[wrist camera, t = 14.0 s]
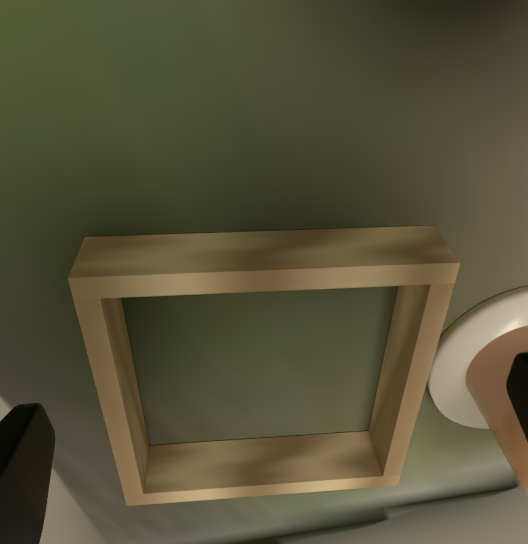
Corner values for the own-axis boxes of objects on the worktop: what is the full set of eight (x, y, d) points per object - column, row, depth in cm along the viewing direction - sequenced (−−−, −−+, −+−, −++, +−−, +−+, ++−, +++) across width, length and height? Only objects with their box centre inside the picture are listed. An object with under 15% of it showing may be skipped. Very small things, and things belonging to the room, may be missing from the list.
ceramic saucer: (640, 279, 25) (652, 289, 24) (568, 412, 30) (576, 423, 30) (447, 288, 24) (454, 298, 23) (410, 423, 29) (415, 434, 29)
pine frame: (432, 225, 22) (460, 262, 19) (382, 440, 30) (397, 485, 28) (84, 237, 21) (67, 277, 18) (134, 457, 29) (126, 506, 26)
